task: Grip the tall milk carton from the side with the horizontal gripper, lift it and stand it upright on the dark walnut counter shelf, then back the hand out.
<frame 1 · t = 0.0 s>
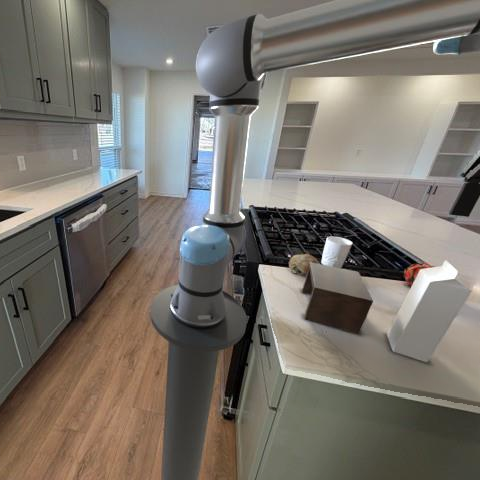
hand: (479, 225, 46), 31 cm above the countertop, tool pointing down, fingers open, 13 cm apart
milk: (405, 348, 59), on the countertop
bread roll: (302, 270, 92), on the countertop
dragon fruit: (416, 286, 84), on the countertop
white cup: (331, 265, 96), on the countertop
shelf: (326, 309, 71), on the countertop
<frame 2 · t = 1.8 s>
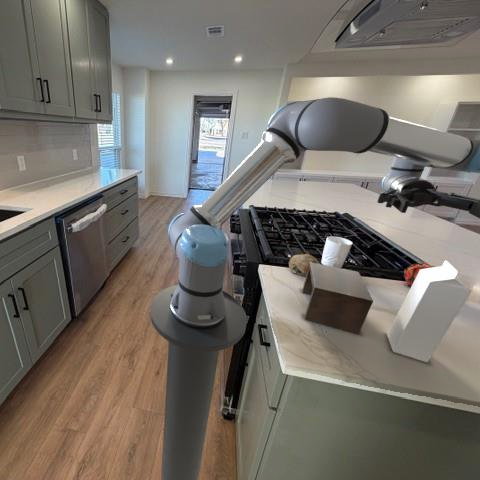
hand: (446, 211, 54), 31 cm above the countertop, tool horizontal, fingers open, 13 cm apart
nothing on the countertop moved.
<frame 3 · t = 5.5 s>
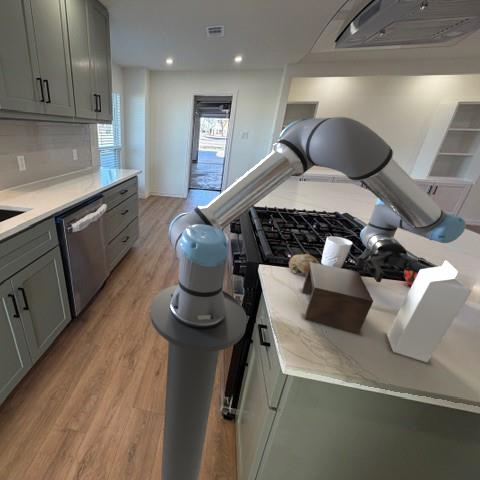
hand: (415, 284, 60), 13 cm above the countertop, tool horizontal, fingers open, 13 cm apart
nothing on the countertop moved.
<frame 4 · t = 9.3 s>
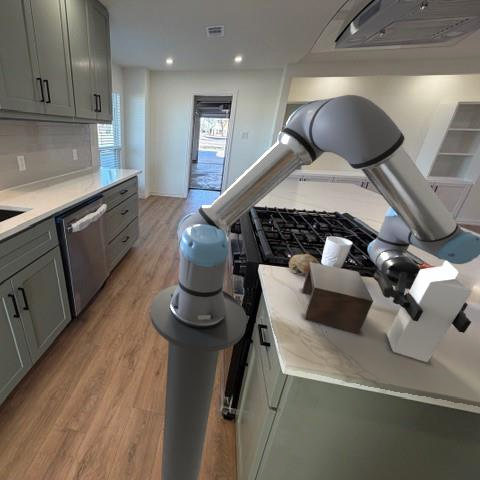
hand: (440, 321, 50), 12 cm above the countertop, tool horizontal, fingers closed on milk, 6 cm apart
milk: (405, 348, 59), on the countertop, touching gripper
everything else where it was.
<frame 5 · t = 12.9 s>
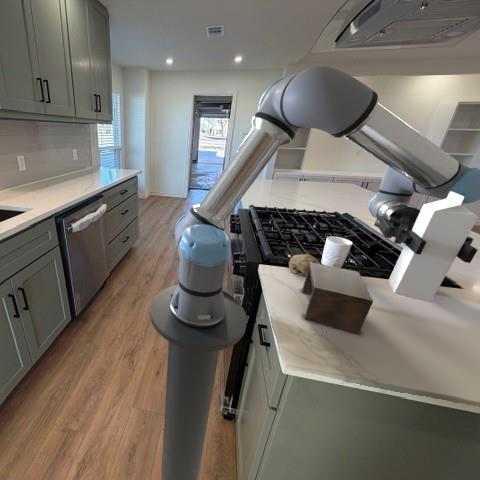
hand: (445, 251, 47), 26 cm above the countertop, tool horizontal, fingers closed on milk, 6 cm apart
milk: (407, 292, 56), point 13 cm above the countertop, touching gripper
everything else where it was.
when the fingers open (22 cm above the countertop, at t = 16.9 s): milk stays where it is, resting on shelf.
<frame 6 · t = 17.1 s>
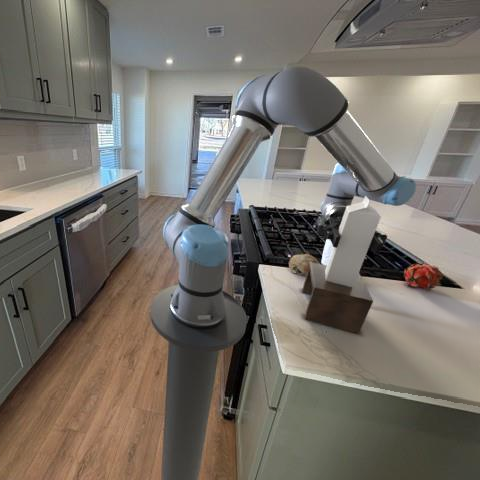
hand: (357, 245, 58), 22 cm above the countertop, tool horizontal, fingers open, 7 cm apart
milk: (337, 279, 67), point 10 cm above the countertop, touching shelf
everything else where it was.
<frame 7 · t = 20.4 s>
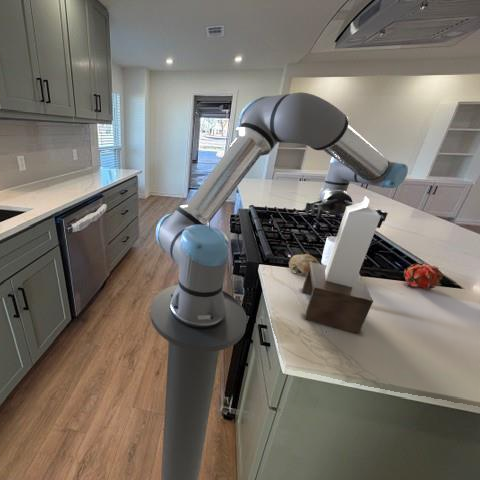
hand: (349, 218, 68), 24 cm above the countertop, tool horizontal, fingers open, 13 cm apart
nothing on the countertop moved.
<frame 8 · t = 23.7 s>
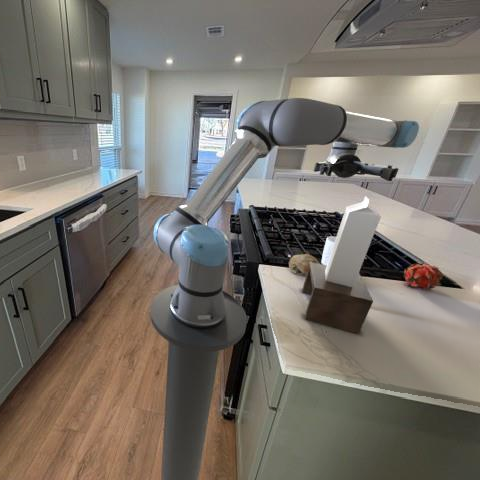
hand: (359, 173, 67), 36 cm above the countertop, tool horizontal, fingers open, 13 cm apart
nothing on the countertop moved.
at the end: milk inside the target area on the shelf (0.1 cm from its centre), point 9.8 cm above the shelf's base; milk tilted 0°; the gripper is holding nothing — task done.
